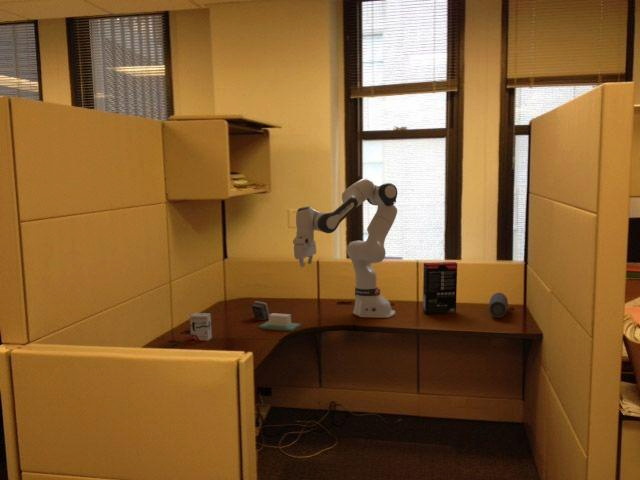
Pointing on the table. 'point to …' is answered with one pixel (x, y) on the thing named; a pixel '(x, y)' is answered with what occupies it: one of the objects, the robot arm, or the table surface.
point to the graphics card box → (439, 287)
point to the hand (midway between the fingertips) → (306, 265)
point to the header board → (280, 327)
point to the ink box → (200, 326)
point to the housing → (280, 319)
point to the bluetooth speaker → (498, 305)
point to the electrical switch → (260, 310)
